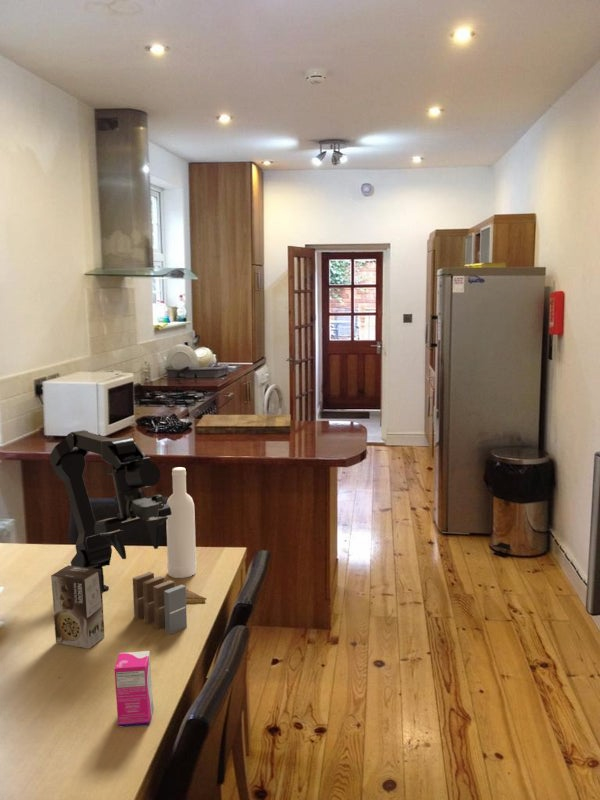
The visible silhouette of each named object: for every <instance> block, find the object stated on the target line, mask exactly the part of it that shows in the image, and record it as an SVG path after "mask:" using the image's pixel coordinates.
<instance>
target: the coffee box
mask: <svg viewBox="0 0 600 800" xmlns="http://www.w3.org/2000/svg"><path fill="white" fill-rule="evenodd" d="M50 579H51V591H52V606H53V607H52V608H53V618H54V620H53V621H54V635H55V644H57V645H58V644H59V645H66V646H69V647H77V648H84V649H90V648H92V647H93V646H94V645H97V643H99V642H100V641H101V640H102V639H104V638H105V622H104V601H103V591H102V580H101V569H95V568H87V567H78V566H71V564H70V565H67V566H64V567H63V568H61V569H59V570H58V571H56V572H55V573H53V574H51V575H50Z"/></svg>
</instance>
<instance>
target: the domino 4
mask: <svg viewBox="0 0 600 800" xmlns="http://www.w3.org/2000/svg"><path fill="white" fill-rule="evenodd" d="M186 589H187V587H186V585H184V584H179V585H177V586H176V585H175V587H173V588H171V589H168V590H166V591H164V606H165V627H164V630H165V633H166V634H168V635H172V634H174V633H176V632H179V631H181V630H183V629H185V628H187V627H188V621H187V603H186Z"/></svg>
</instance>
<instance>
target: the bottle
mask: <svg viewBox="0 0 600 800" xmlns="http://www.w3.org/2000/svg"><path fill="white" fill-rule="evenodd" d="M186 469H187V468H185V467H182V466H181V467H180V466H178V467H173V468H172V469H171V471H172V472H171V476H172V494H171V495H170V496H169V497H168V499H167V501H166V504H168V505H169V507H170V508H171V512H172V514H171V515H168V516H165V517H168V519H167V520H165V522H166V549H167V551H166V552H167V553H166V554H167V567H166V568H167V574H168V576H169V577H171V578H175V579H185V578H190V577H193V576H194V575H195V574H196V573H197V555H196V554H197V552H196V551H197V550H196V519H195V518H196V516H195V514H196V513H195V510H196V509H195V503H194V499H193V497H192V496H191V495H190V494H189V493H187V471H186ZM192 575H193V576H192Z"/></svg>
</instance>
